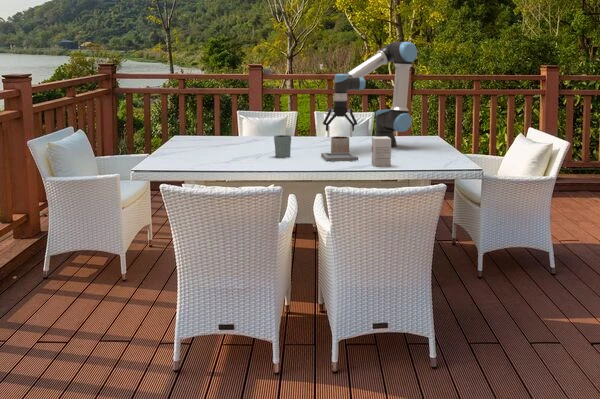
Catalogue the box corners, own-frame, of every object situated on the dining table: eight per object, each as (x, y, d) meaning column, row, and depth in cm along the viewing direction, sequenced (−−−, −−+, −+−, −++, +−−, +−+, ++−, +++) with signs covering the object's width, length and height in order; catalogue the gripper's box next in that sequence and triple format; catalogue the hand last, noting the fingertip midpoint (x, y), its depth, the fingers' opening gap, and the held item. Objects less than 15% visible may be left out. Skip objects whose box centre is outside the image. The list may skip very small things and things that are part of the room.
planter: (347, 155, 422) (348, 138, 420) (329, 154, 424) (329, 138, 422) (350, 152, 433) (350, 136, 430) (332, 151, 435) (332, 136, 433)
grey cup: (278, 158, 410) (278, 137, 408) (271, 156, 419) (270, 135, 417) (294, 157, 415) (294, 136, 412) (286, 154, 424) (286, 134, 421)
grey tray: (351, 155, 419) (351, 152, 419) (359, 161, 399) (359, 157, 399) (321, 156, 417) (321, 153, 417) (327, 162, 397) (327, 158, 397)
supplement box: (371, 163, 392) (371, 136, 388) (387, 163, 392) (388, 136, 389) (374, 166, 383) (374, 138, 380) (390, 166, 383) (391, 138, 380)
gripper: (320, 100, 416) (319, 137, 421) (362, 101, 420) (361, 137, 424) (318, 100, 424) (317, 136, 428) (360, 100, 427) (359, 135, 431)
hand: (339, 136), depth 426 cm, fingers open, 13 cm apart
